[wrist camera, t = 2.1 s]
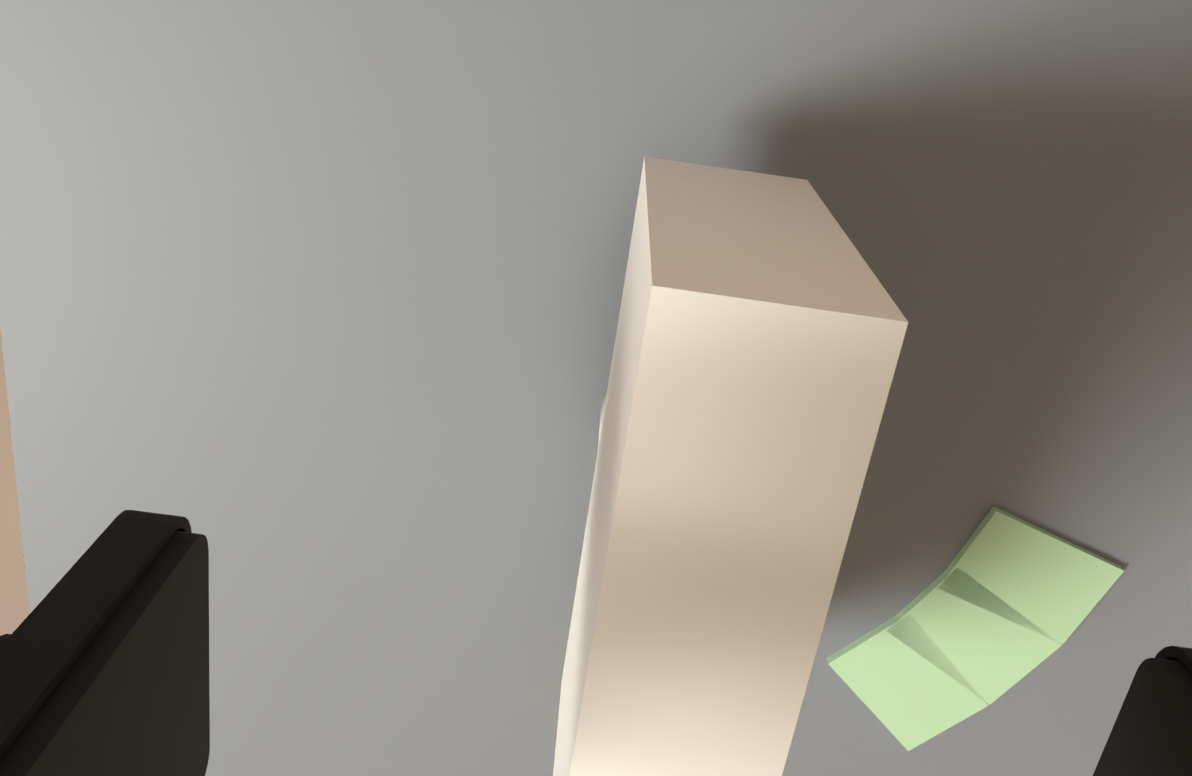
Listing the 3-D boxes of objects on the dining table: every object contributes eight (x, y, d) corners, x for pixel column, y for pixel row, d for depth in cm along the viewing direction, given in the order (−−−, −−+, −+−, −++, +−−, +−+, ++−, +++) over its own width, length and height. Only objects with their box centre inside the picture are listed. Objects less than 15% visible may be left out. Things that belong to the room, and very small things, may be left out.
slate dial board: (-2, -390, 13) (-85, -433, 12) (1526, -148, 14) (1638, -157, 12) (84, 717, 20) (41, 780, 19) (1080, 845, 21) (1116, 916, 19)
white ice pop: (643, 138, 14) (652, 284, 8) (793, 159, 14) (908, 323, 8) (534, 833, 19) (492, 1227, 13) (644, 847, 19) (650, 1245, 13)
